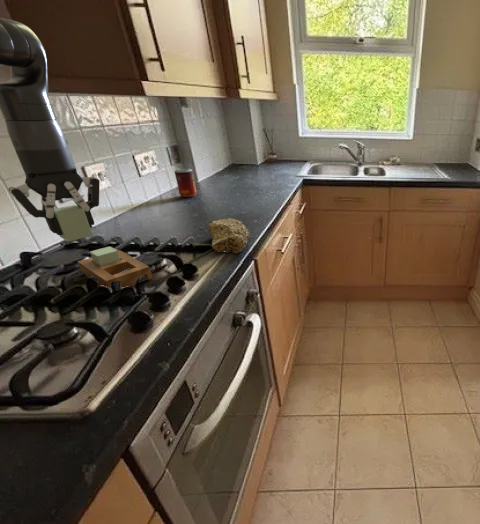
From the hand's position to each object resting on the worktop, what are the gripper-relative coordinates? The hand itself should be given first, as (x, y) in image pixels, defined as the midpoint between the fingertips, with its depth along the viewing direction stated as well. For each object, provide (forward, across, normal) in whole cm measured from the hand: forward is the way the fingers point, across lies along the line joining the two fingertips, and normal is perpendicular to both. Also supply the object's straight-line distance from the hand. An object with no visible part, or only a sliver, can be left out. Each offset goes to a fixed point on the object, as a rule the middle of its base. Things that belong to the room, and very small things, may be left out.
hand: (74, 230), depth 70 cm
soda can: (+15, -57, -64) cm, 87 cm away
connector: (+15, -6, -5) cm, 17 cm away
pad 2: (+15, -6, -9) cm, 19 cm away
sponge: (+16, -36, -3) cm, 39 cm away
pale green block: (+1, 0, 0) cm, 1 cm away
